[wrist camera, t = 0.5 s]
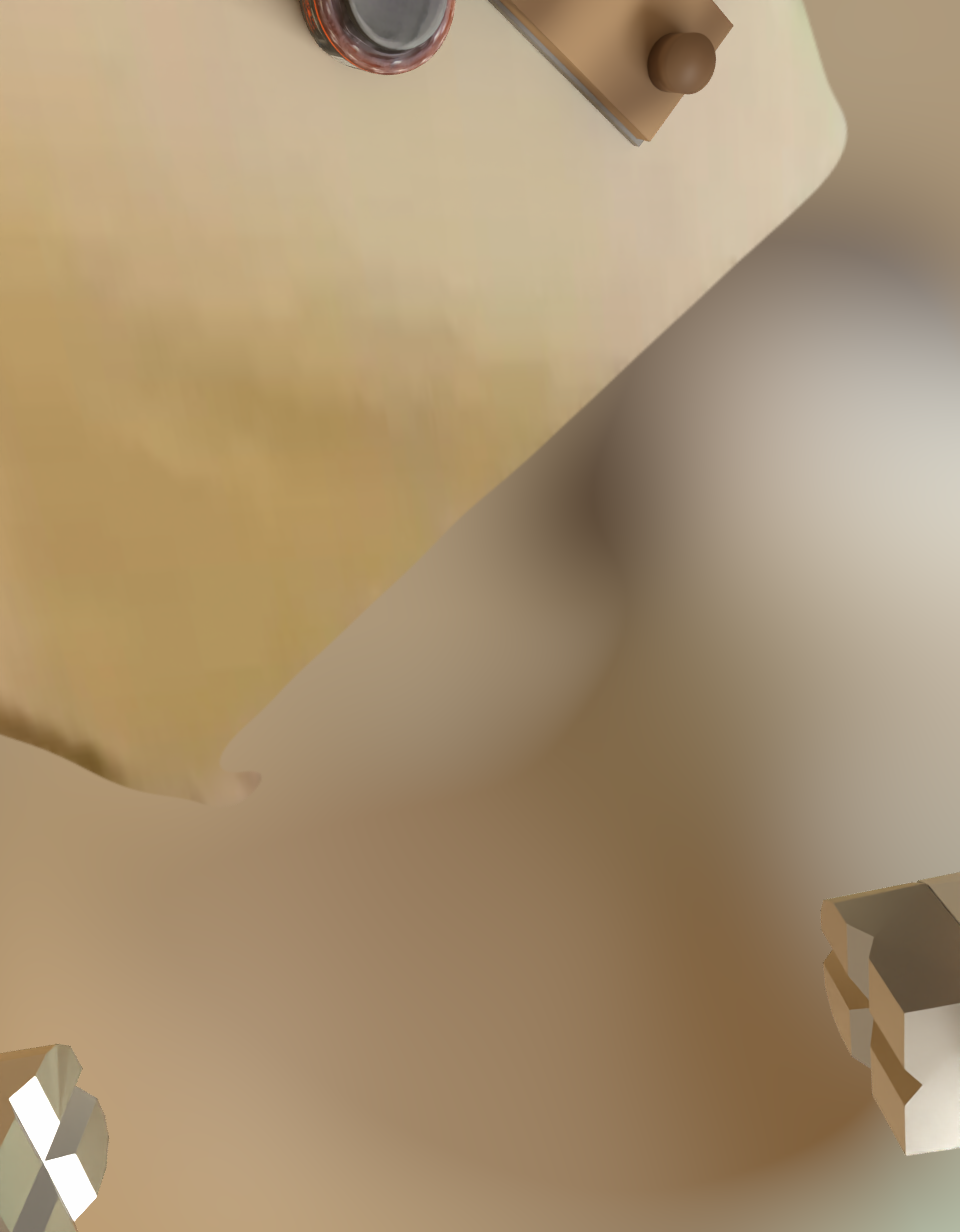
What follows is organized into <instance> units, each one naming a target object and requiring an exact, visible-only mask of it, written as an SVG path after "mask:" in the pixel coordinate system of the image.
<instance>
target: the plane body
mask: <svg viewBox="0 0 960 1232" xmlns="http://www.w3.org/2000/svg"><path fill="white" fill-rule="evenodd" d="M488 1H489V2H490V3H491V4H492V5H493V6H494V7H495V8H496V9H497V10H498V11H499V12H500V13H501V14H502V15H503V16H504V17H505V18H506V19H507V20H508V21H509V22H510V23H511V24H512V25H513V26H514V27H515V28H516V29H517V30H518V31H519V32H520V33H521V34H522V35H523V36H524V37H525V38H526V39H527V40H528V41H529V42H530V43H531V44H532V45H533V46H534V47H535V48H536V49H537V50H538V51H540V52H541V53H542V54H543V55H544V56H545V57H546V58H547V59H548V60H549V61H550V62H551V63H552V64H553V65H554V66H555V67H556V68H557V69H558V70H559V71H560V72H561V73H562V74H563V75H564V76H565V77H566V78H567V79H568V80H569V81H570V82H571V83H572V84H573V85H574V86H575V87H576V88H577V89H578V90H579V91H580V92H581V93H582V94H583V95H584V96H585V97H586V98H587V99H588V100H589V101H590V102H591V103H592V104H593V105H594V106H595V107H596V108H597V109H598V110H599V111H600V112H601V113H602V114H603V115H604V116H605V117H606V118H607V119H608V120H609V121H610V122H611V123H612V124H613V125H614V126H615V127H616V128H617V129H618V130H619V131H620V132H621V133H622V134H623V135H624V136H625V137H626V138H627V139H628V140H629V141H630V142H631V143H632V144H633V145H634V146H638V147H639V146H640V145H641V144H642V142H643V141H644V140H645V141H651V139H652V138H653V137H654V135H655V134H656V132H657V131H658V130H659V128H660V127H661V125H662V124H663V123H664V121H665V120H666V119H667V117H668V116H669V114H670V113H671V112H672V110H673V109H674V107H675V106H676V105H677V103H678V102H679V101H680V99H681V98H682V96H683V95H684V94H693V93H696V92H698V91H700V90H701V89H702V88H704V87H705V86H706V84H707V83H708V82H709V80H710V79H711V77H712V75H713V72H714V69H715V63H716V55H715V51H716V49H717V48H718V46H719V45H720V44H721V42H722V41H723V40H724V38H725V37H726V35H727V34H728V33H729V31H730V30H731V28H732V27H733V24H732V23H731V22H730V21H729V20H728V18H727V17H726V16H725V15H724V14H723V12H722V11H721V10H720V9H719V8H718V6H717V5H716V4H715V3H714V2H713V0H488Z"/></svg>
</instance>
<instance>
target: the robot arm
mask: <svg viewBox="0 0 960 1232" xmlns="http://www.w3.org/2000/svg"><path fill="white" fill-rule="evenodd" d="M821 930H822V932H823V934H824V935H825V937H826V939H827V940H828V942H829V944H830V945H831V947H832V951H831V952H830V954H829V955H828V956H827V958H826V959H825V961H824V962H823V968H824V978H825V989H826V992H827V997H828V1000H829V1004H830V1008H831V1012H832V1015H833V1018H834V1020H835V1023H836V1025H837V1028H838V1030H839V1033H840V1035H841V1037H842V1039H843V1041H844V1043H845V1045H846V1047H847V1049H848V1051H849V1052H850V1054H851V1056H852V1057H853V1058H855V1059H856V1060H858V1061H859V1062H861V1063H863V1064H864V1065H866V1066H867V1067H869V1068H871V1076H872V1095H873V1097H874V1099H875V1101H876V1103H877V1104H878V1106H879V1108H880V1110H881V1112H882V1113H883V1115H884V1117H885V1119H886V1121H887V1122H888V1124H889V1126H890V1128H891V1130H892V1132H893V1133H894V1135H895V1137H896V1139H897V1141H898V1142H899V1144H900V1146H901V1148H902V1150H903V1151H904V1154H905V1155H906V1156H908V1155H914V1154H921V1153H928V1152H934V1151H941V1150H948V1149H954V1148H960V872H957V873H953V874H948V875H943V876H938V877H933V878H928V879H923V880H918V881H917V883H916V882H911V883H906V884H901V885H896V886H891V887H886V888H881V889H875V890H871V891H865V892H860V893H855V894H850V895H845V896H840V897H835V898H830V899H825V900H823V904H822V908H821ZM81 1071H82V1066H81V1065H80V1063H79V1061H78V1059H77V1057H76V1055H75V1054H74V1052H73V1050H72V1048H71V1046H67V1045H60V1044H55V1045H48V1046H43V1047H36V1048H30V1049H24V1050H18V1051H11V1052H6V1053H0V1232H78V1230H77V1228H76V1225H75V1222H74V1221H75V1220H76V1218H77V1217H78V1216H79V1215H80V1214H81V1213H82V1212H83V1211H84V1210H85V1209H86V1208H87V1207H88V1205H89V1204H90V1203H91V1202H92V1201H93V1200H94V1199H95V1198H96V1197H97V1194H98V1191H99V1188H100V1185H101V1182H102V1179H103V1176H104V1173H105V1170H106V1164H107V1153H108V1141H109V1136H108V1130H107V1125H106V1119H105V1115H104V1112H103V1110H102V1108H101V1106H100V1104H99V1102H98V1099H97V1098H95V1097H94V1096H92V1095H90V1094H88V1093H87V1092H85V1091H84V1090H82V1089H80V1088H78V1087H77V1086H76V1083H77V1081H78V1078H79V1076H80V1073H81Z"/></svg>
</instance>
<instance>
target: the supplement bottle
mask: <svg viewBox="0 0 960 1232" xmlns="http://www.w3.org/2000/svg"><path fill="white" fill-rule="evenodd" d="M455 1H456V0H300V4H301V9H302V13H303V16H304V19H305V22H306V24H307V27H308V29H309V31H310V33H311V35H312V36H313V38H314V39H315V41H316V42H317V44H318V45H319V47H321V48H322V49H323V50H324V51H325V52H326V53H328V54H329V55H330V56H331V57H332V58H334V59H335V60H337V61H339V62H340V63H342V64H345V65H347V66H349V67H353V68H356V69H360V70H364V71H368V72H371V73H376V74H382V75H394V74H400V73H404V72H408V71H411V70H413V69H415V68H417V67H419V66H421V65H422V64H424V63H425V62H427V61H428V60H429V59H430V58H431V57H432V56H433V55H434V54H435V53H436V52H437V50H438V49H439V48H440V46H441V45H442V43H443V41H444V40H445V38H446V36H447V34H448V31H449V29H450V26H451V23H452V20H453V16H454V10H455Z"/></svg>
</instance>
